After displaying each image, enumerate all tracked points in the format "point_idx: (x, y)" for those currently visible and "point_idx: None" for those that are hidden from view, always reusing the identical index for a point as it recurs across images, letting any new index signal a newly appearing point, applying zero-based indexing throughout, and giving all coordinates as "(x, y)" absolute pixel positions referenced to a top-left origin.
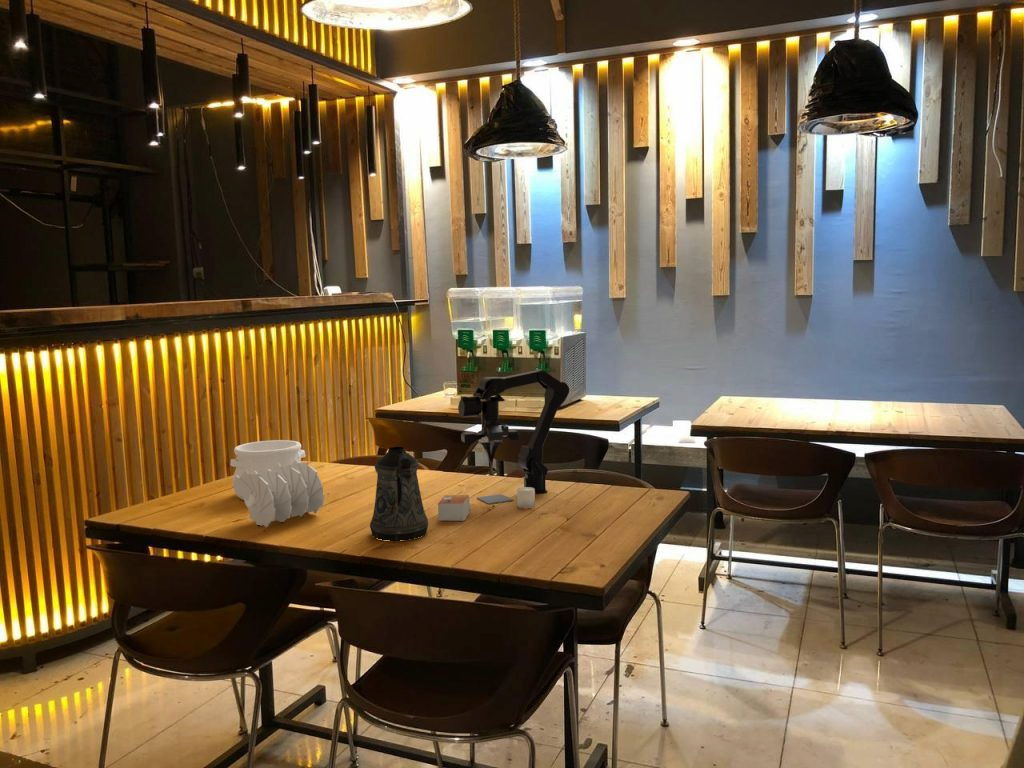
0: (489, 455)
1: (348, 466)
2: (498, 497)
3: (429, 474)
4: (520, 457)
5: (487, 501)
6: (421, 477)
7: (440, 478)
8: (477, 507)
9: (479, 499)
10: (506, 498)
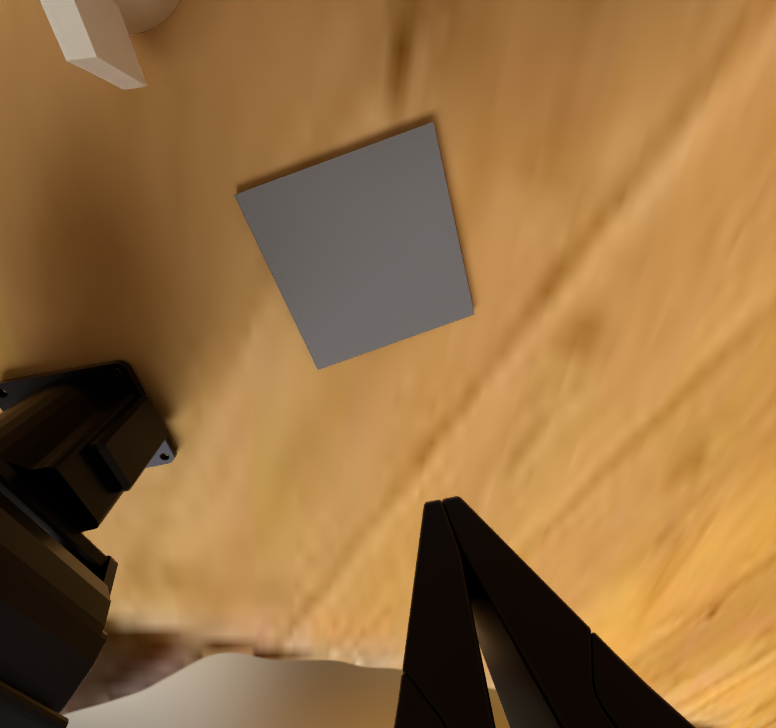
0: (512, 582)
1: (708, 712)
2: (342, 286)
3: None
4: (26, 691)
5: (430, 186)
6: None
7: None
8: (524, 48)
9: (465, 278)
10: (287, 245)
